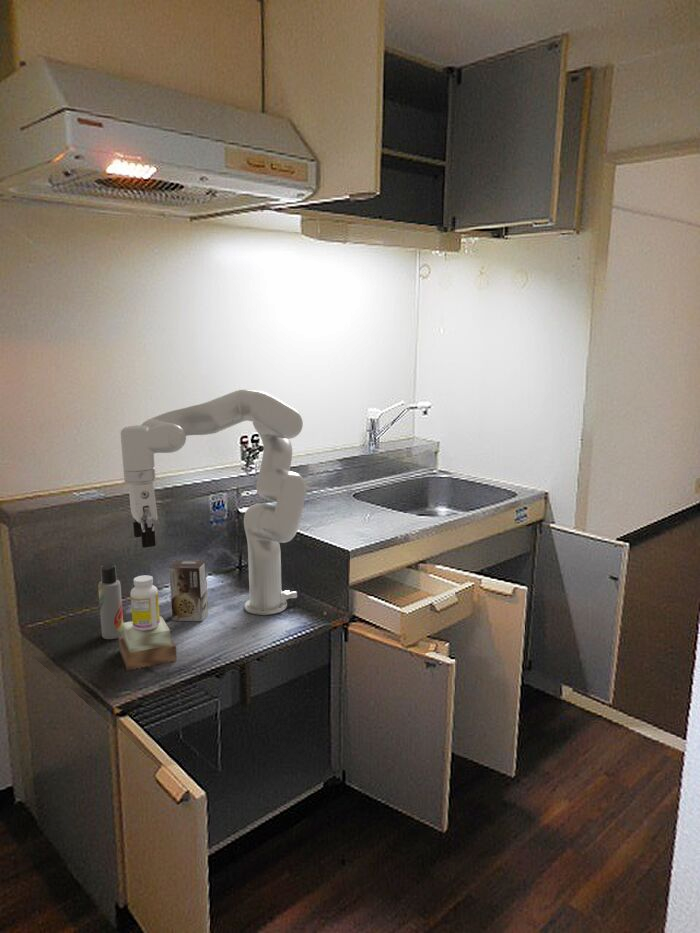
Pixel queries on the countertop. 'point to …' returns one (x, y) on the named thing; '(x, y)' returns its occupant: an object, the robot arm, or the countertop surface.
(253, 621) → the countertop surface
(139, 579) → the supplement bottle
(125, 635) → the cream slab tan edge
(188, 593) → the coffee box
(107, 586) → the lotion bottle
